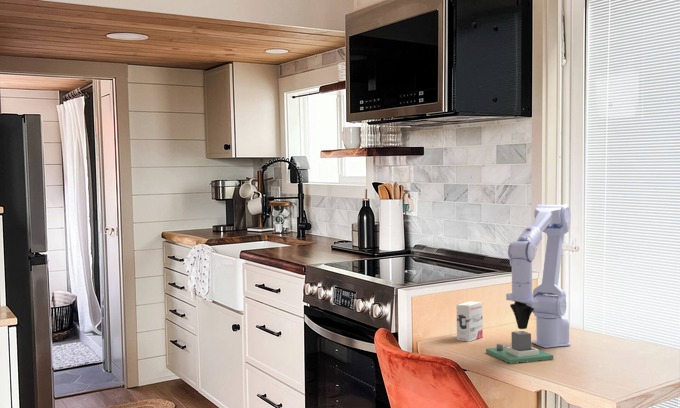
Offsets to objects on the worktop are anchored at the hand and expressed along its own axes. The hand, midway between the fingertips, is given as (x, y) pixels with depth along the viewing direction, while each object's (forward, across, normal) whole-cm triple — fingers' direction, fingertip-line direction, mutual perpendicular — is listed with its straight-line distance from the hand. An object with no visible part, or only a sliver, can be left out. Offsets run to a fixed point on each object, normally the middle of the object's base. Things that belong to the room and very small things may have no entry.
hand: (522, 328), depth 200 cm
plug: (+7, 0, 0) cm, 7 cm away
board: (+8, -2, 0) cm, 9 cm away
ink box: (+9, -27, -3) cm, 29 cm away
